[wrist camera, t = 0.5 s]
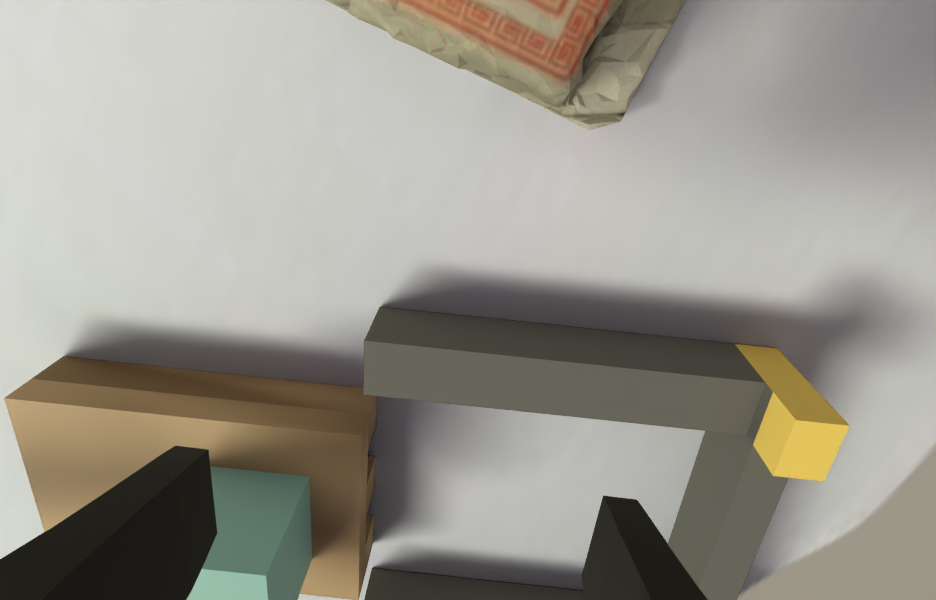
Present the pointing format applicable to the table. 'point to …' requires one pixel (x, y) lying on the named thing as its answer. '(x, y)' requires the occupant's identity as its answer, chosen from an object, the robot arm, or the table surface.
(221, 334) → the table surface
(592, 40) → the packaged product
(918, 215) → the table surface
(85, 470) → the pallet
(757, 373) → the dock
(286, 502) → the block
